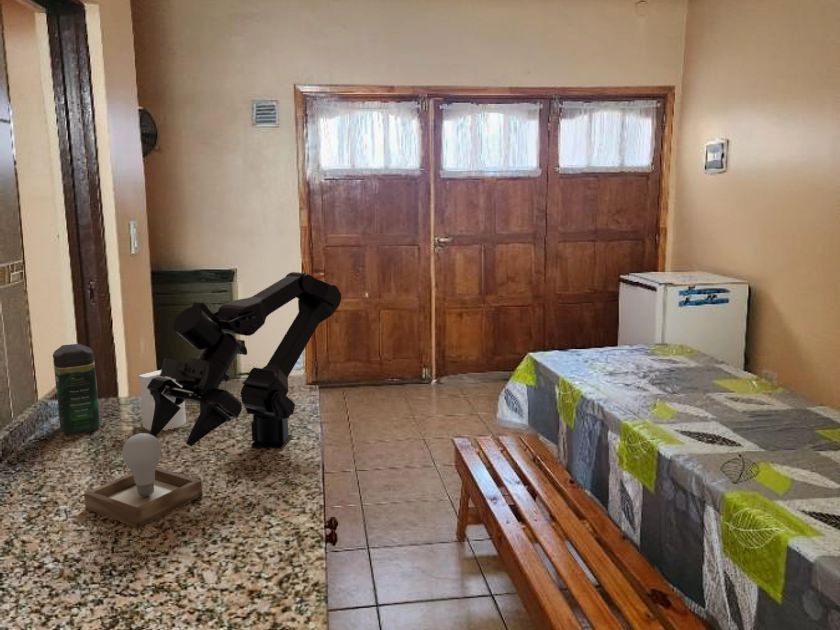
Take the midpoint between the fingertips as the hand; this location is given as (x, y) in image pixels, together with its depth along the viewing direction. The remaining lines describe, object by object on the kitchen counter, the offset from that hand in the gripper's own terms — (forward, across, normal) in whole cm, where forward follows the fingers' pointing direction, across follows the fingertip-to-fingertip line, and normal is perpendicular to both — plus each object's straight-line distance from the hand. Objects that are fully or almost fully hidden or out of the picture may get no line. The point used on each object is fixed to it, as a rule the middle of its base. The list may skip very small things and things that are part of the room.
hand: (170, 440), depth 117 cm
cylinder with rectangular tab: (-8, -29, +22) cm, 37 cm away
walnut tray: (+11, 0, +2) cm, 11 cm away
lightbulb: (+10, 0, +2) cm, 10 cm away
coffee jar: (-1, -43, +14) cm, 45 cm away
